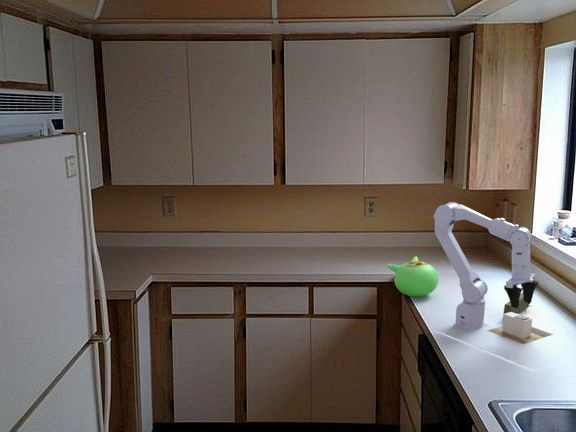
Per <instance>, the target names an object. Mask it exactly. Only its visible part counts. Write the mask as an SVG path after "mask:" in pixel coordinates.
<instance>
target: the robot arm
mask: <svg viewBox="0 0 576 432" xmlns="http://www.w3.org/2000/svg"><path fill="white" fill-rule="evenodd" d="M433 219H434V234H435V236H436V238H437V241H438V242H439V243H440V246H441V247H442V249H443V251H444V253H445V254H446V256H447V258H448V261H449V262H450V263H451V265H452V267H453V269H454V271H455V272H456V275H457V277H458V278H459V287H460V289H461V295H462V302H460V303H459V304H458V305H457V306H456V310H455V311H456V312H455V322H453V325H456V326H459V327H461V328H464V329H466V330H469V331H474V330H478V329H481V328H484V327H488V326H489V324H488V323H485V309H486V308H485V307H486V299H485V295H486V294H487V292H488V285H487V283H486V282H485V281H484V280H482V279H481V278H480V276H479V274H478V273H476V272H475V271H474V270H473V268H472V267H471V264H470V263H469V261H468V259H467V257H466V255H465V254H464V252H463V250H462V248H461V246H460V245H459V243H458V241H457V238H455V236H454V234H453V232H452V231H453V229H454V227H455V226H454V224H455V223H456V222H457V221H463V220H465V221H469V222H471V223H473V224H476V225H478V226H481V227H484V228H486V229H487V230H488V232H489V234H491V235H493V236H495V237H498V238H499V239H502V240H504V241H506V242H509V243H510V244H511V277H510V278H509V279H508V280H507V281H505V285H504V286H503V289H504V291H505V292H506V294H507V297H508V299H509V301H510V303H511V307H514V308H518V307H519V299H520V294H521V293H522V292H523V298H524V302H527V303H530V304H531V303H532V301H533V295H534V293H535V291H536V288H537V287H538V285H539V281H538V280H537V278H536V277H537V274H536V273H531V244H530V242H531V241H532V238H533V233H532V232H531V230H530V229H529V228H527V227H525V226H520V225H519V224H513V223H510V222H508V221H506V219H505V218H503V217H500V218H498V217H496V218H494V219H493V218H490V217H488V216H485V215H483V214H481V213H480V212H478V211H475V210H474V209H471V208H470V207H468V206H465V205H464V204H461V203H460V204H459V203H457V202H455V201H449V202H447V203H446V204H441V205H439V206H437V208H436V210H435V212H434V213H433ZM519 226H520V227H519ZM536 280H537V281H536ZM519 285H521V287H519Z"/></svg>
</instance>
